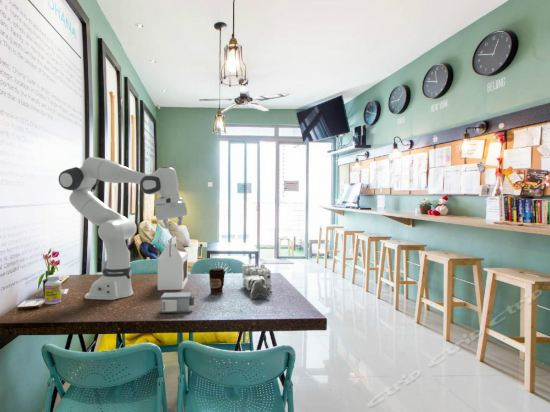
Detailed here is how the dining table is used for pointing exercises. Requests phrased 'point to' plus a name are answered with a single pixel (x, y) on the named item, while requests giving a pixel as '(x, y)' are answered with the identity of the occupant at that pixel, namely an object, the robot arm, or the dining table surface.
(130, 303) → the dining table surface
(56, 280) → the supplement bottle
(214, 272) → the coffee cup
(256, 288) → the spaceship
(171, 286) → the gable box
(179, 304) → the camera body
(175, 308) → the side door
